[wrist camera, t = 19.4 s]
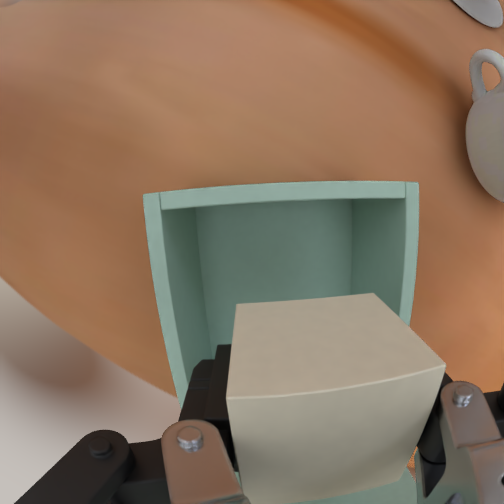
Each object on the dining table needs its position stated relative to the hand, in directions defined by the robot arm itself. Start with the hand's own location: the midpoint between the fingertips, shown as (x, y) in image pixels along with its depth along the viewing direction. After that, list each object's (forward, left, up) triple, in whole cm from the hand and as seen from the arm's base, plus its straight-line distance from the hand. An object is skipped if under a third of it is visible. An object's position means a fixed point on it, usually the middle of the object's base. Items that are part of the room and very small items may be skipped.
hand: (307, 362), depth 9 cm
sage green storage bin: (+1, +2, -13) cm, 13 cm away
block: (0, 0, 0) cm, 0 cm away
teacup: (-23, +1, -13) cm, 27 cm away
